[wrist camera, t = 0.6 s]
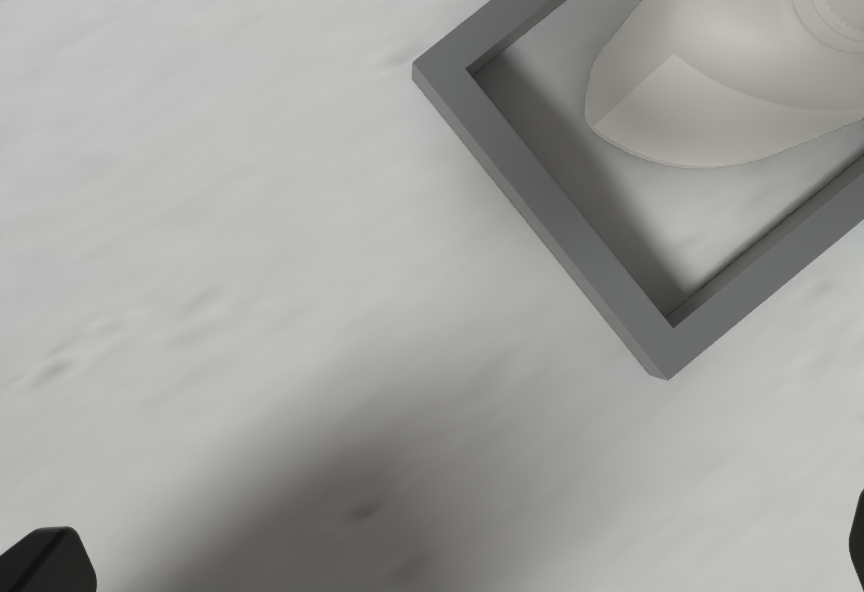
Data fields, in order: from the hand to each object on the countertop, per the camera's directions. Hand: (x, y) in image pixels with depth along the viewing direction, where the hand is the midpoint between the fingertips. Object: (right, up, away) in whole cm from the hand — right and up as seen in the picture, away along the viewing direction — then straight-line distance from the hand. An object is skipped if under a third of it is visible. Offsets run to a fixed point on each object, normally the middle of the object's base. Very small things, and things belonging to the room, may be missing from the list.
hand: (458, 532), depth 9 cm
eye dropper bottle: (+7, +8, +13) cm, 17 cm away
